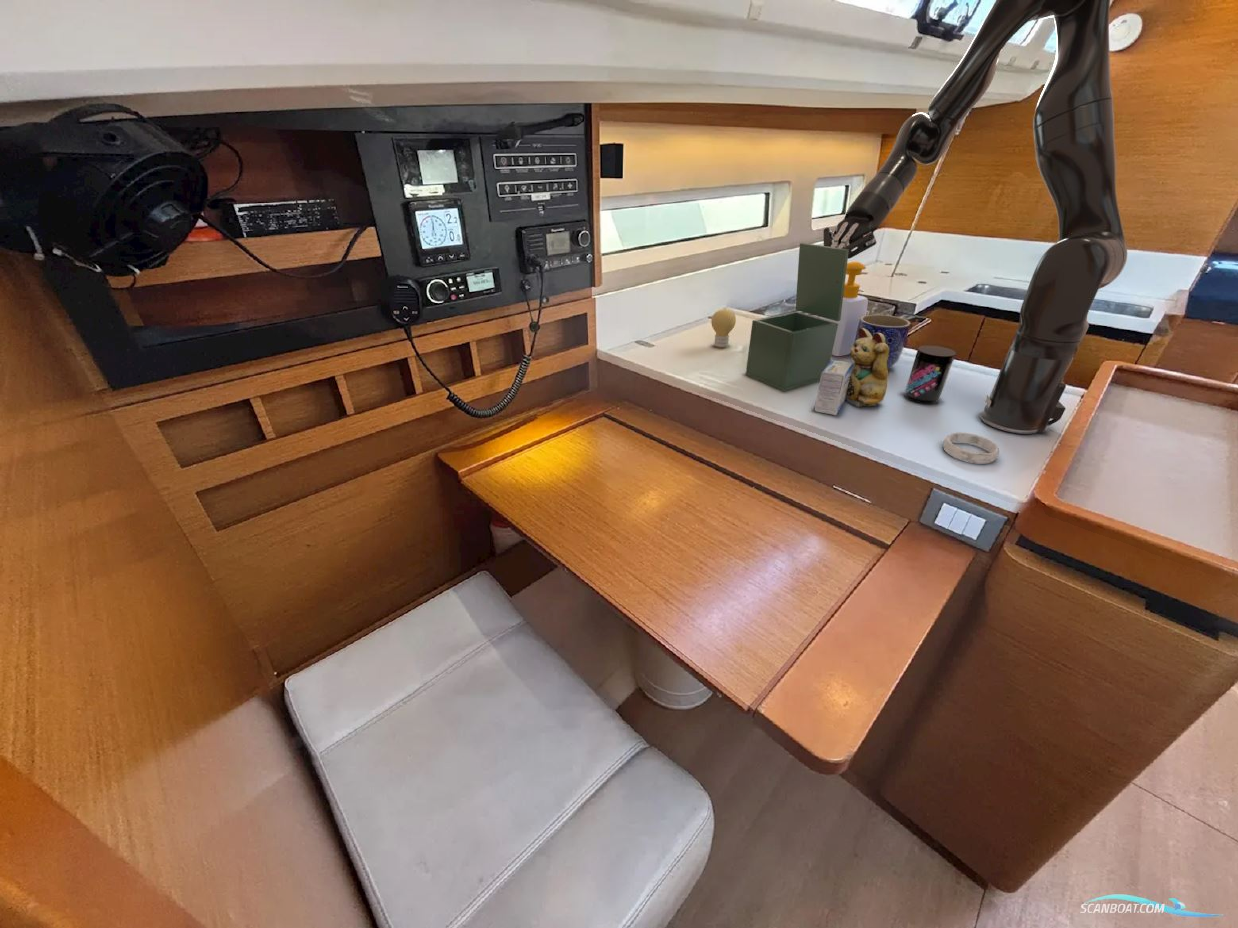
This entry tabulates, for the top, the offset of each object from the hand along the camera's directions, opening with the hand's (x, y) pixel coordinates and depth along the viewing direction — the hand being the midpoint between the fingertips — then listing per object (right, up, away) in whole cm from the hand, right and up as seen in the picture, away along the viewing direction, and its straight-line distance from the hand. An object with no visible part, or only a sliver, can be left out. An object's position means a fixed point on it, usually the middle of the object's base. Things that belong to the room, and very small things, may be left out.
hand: (823, 269), depth 108 cm
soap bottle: (+12, -11, +27) cm, 31 cm away
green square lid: (-1, -2, +1) cm, 3 cm away
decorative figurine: (+7, -29, -2) cm, 30 cm away
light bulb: (-16, -10, +29) cm, 35 cm away
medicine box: (-1, -31, -5) cm, 31 cm away
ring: (+16, -40, -21) cm, 49 cm away
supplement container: (+20, -28, -2) cm, 35 cm away
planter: (+18, -18, +15) cm, 30 cm away
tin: (-5, -22, +9) cm, 24 cm away
